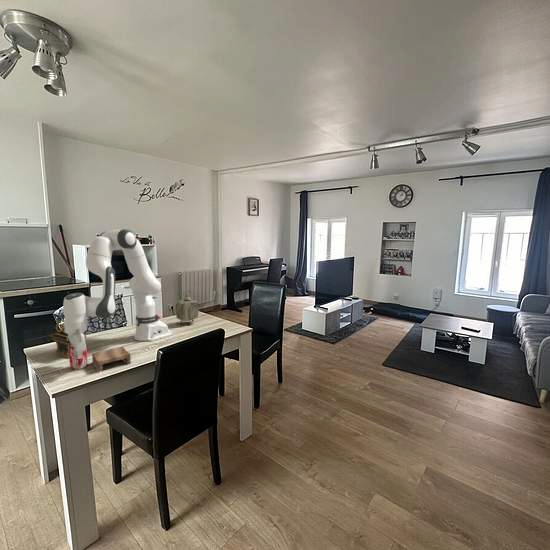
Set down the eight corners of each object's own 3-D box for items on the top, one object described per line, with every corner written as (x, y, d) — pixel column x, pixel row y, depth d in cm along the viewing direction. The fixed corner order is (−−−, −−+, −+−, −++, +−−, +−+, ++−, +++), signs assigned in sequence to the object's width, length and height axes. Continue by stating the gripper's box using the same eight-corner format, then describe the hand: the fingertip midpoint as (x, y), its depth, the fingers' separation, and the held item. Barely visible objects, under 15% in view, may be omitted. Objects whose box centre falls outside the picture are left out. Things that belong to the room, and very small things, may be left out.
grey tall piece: (193, 320, 220) (193, 288, 216) (199, 323, 214) (199, 290, 210) (175, 324, 209) (175, 291, 206) (182, 327, 203) (181, 293, 200)
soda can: (89, 367, 139) (88, 343, 138) (72, 372, 134) (70, 347, 133) (85, 363, 144) (83, 340, 142) (68, 367, 139) (66, 343, 137)
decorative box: (88, 353, 156) (86, 318, 153) (69, 360, 147) (67, 323, 144) (66, 346, 164) (63, 313, 161) (47, 352, 155) (44, 317, 153)
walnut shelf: (122, 355, 154) (122, 346, 153) (130, 363, 145) (130, 354, 144) (92, 362, 144) (92, 353, 144) (99, 372, 135) (98, 361, 134)
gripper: (88, 331, 131) (90, 360, 133) (79, 321, 146) (81, 347, 148) (72, 334, 127) (74, 364, 129) (64, 323, 141) (66, 350, 143)
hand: (77, 355), depth 138 cm, fingers open, 8 cm apart
